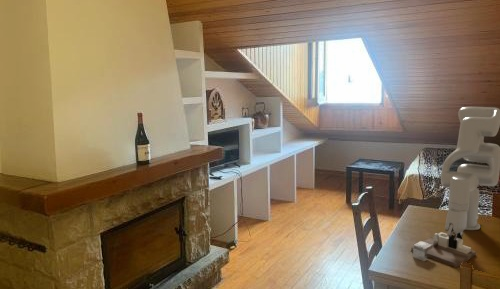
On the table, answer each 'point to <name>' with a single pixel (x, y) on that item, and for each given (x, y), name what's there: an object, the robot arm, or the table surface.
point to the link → (460, 247)
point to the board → (447, 254)
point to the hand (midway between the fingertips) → (454, 246)
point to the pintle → (436, 240)
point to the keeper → (421, 250)
